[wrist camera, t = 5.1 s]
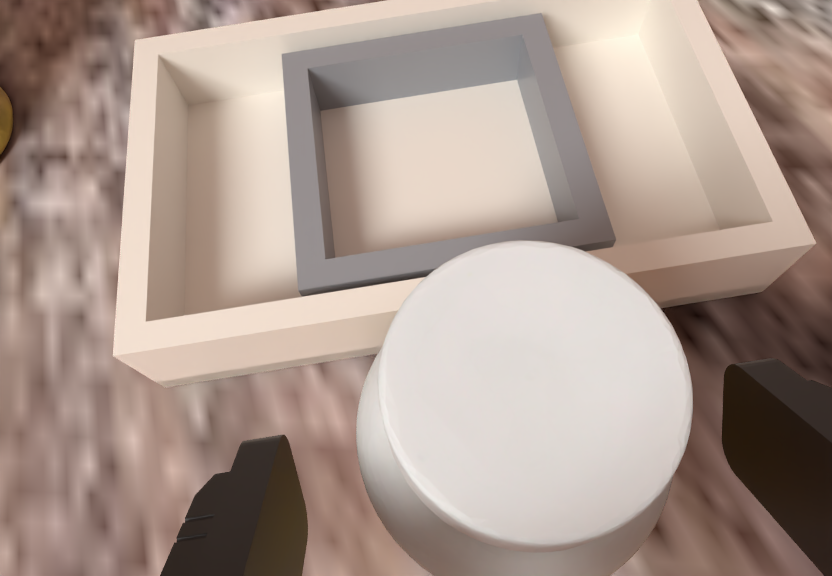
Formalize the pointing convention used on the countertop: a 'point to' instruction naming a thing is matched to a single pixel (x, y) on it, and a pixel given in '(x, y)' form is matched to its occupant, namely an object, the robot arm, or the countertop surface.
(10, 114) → the vase
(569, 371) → the supplement bottle
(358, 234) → the walled box
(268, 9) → the countertop surface
